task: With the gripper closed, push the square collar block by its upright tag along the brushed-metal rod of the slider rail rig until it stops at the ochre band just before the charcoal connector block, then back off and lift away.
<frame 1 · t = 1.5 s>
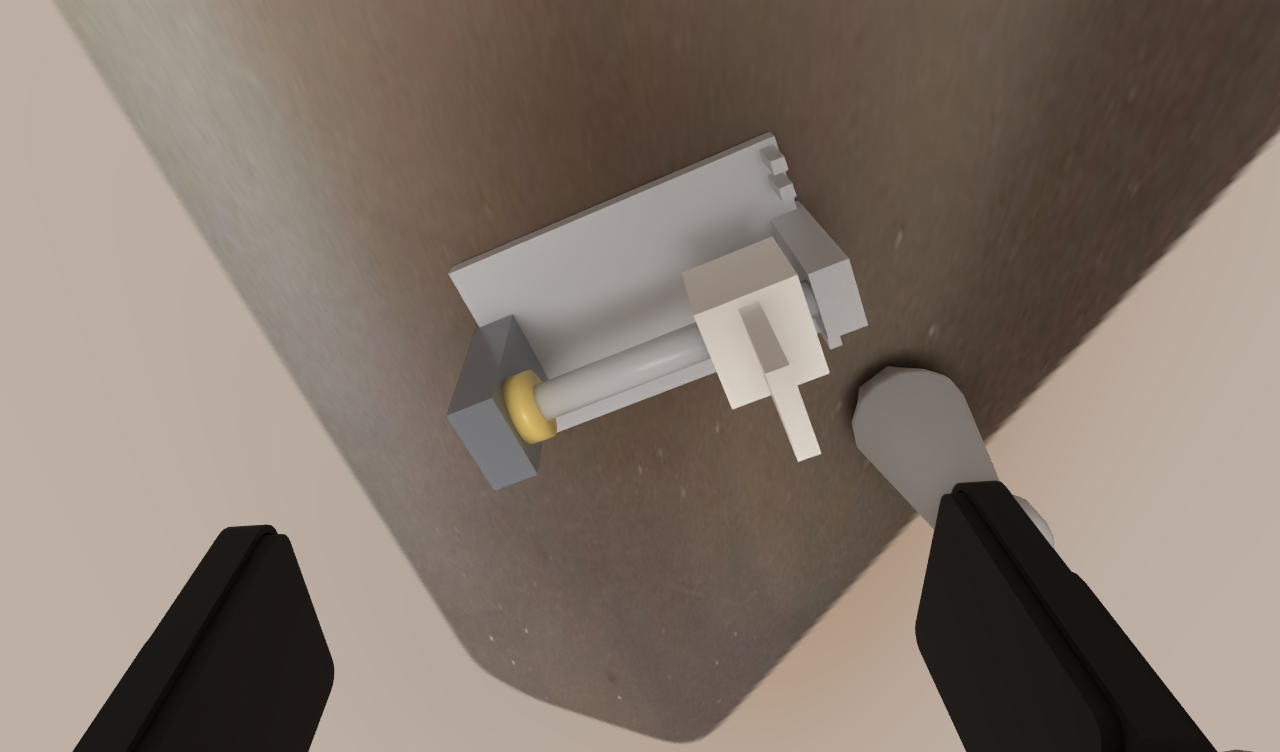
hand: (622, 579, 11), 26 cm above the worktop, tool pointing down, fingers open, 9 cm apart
salt shaker: (891, 395, 40), on the worktop
square collar block: (764, 348, 28), point 9 cm above the worktop, slide at 0.0 cm
slider rail rig: (646, 293, 36), on the worktop
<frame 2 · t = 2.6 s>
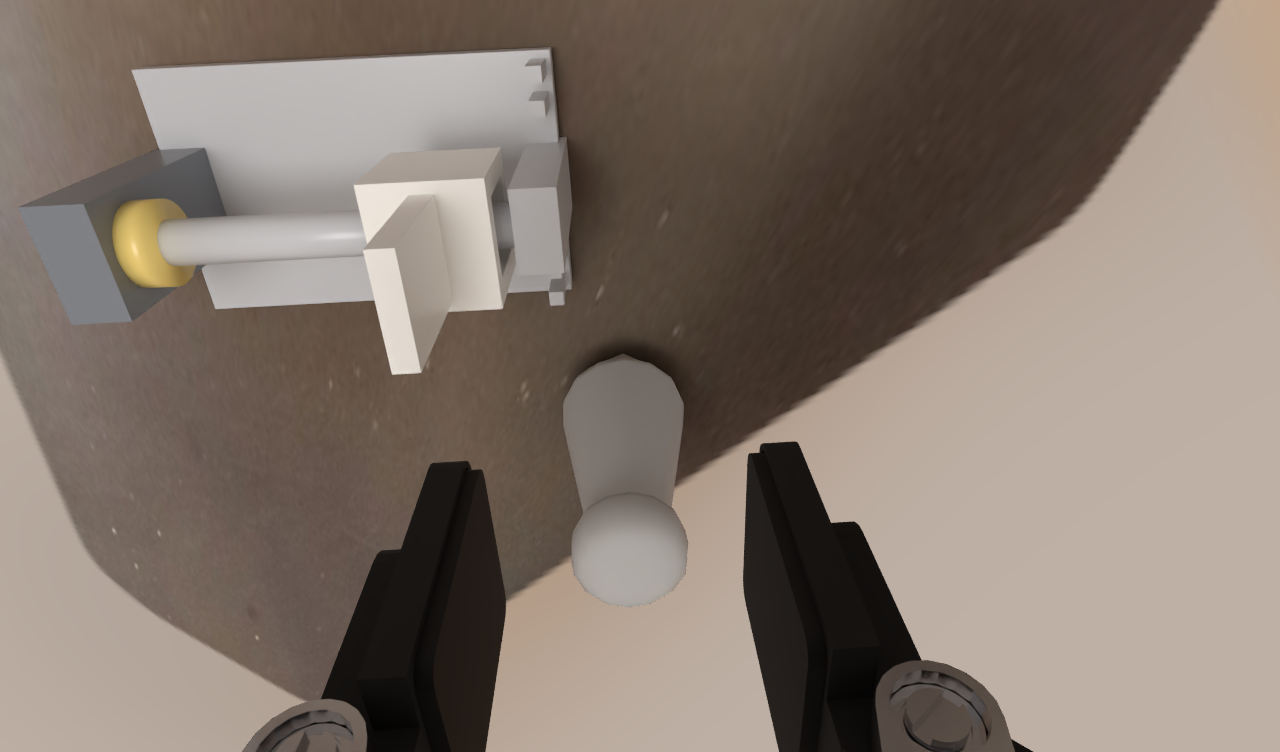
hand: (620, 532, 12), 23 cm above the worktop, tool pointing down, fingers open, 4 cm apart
salt shaker: (622, 387, 38), on the worktop
square collar block: (429, 253, 24), point 9 cm above the worktop, slide at 0.0 cm
slider rail rig: (376, 182, 32), on the worktop
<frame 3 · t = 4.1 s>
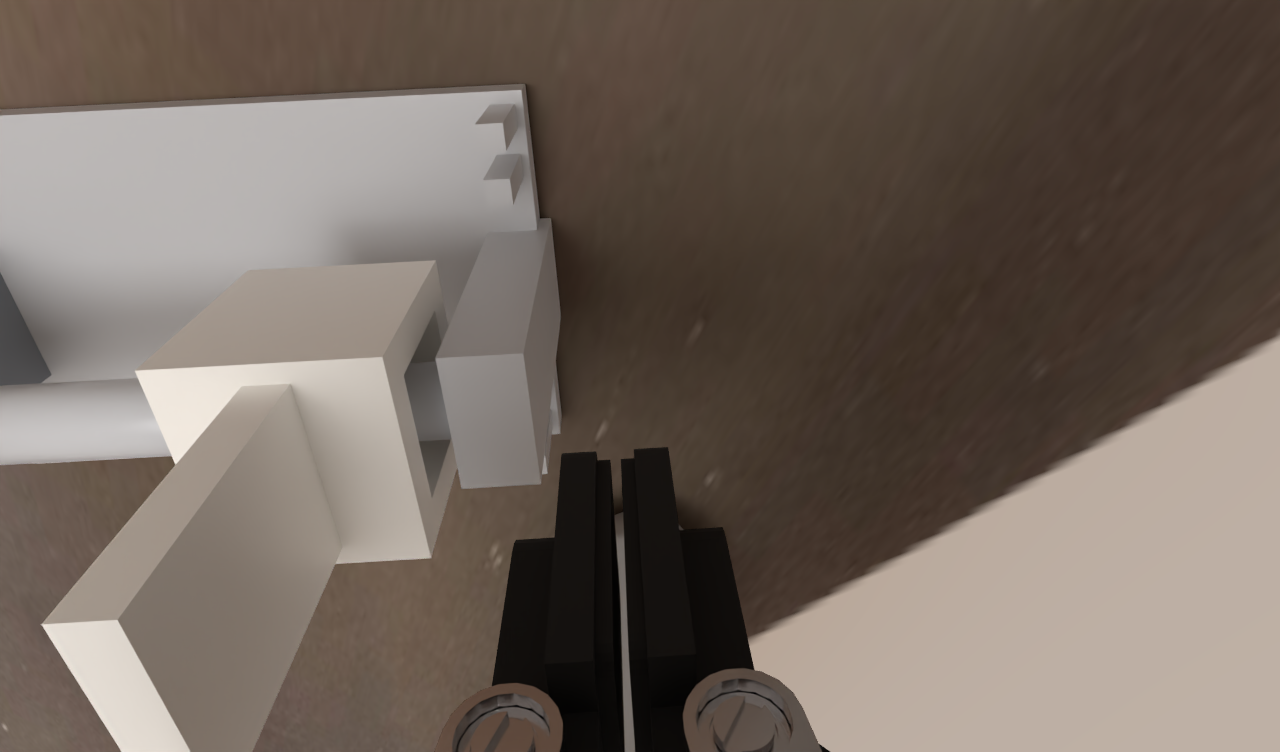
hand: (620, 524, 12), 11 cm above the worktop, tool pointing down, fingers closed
salt shaker: (632, 548, 27), on the worktop
square collar block: (289, 482, 13), point 10 cm above the worktop, slide at 0.0 cm
slider rail rig: (264, 284, 21), on the worktop
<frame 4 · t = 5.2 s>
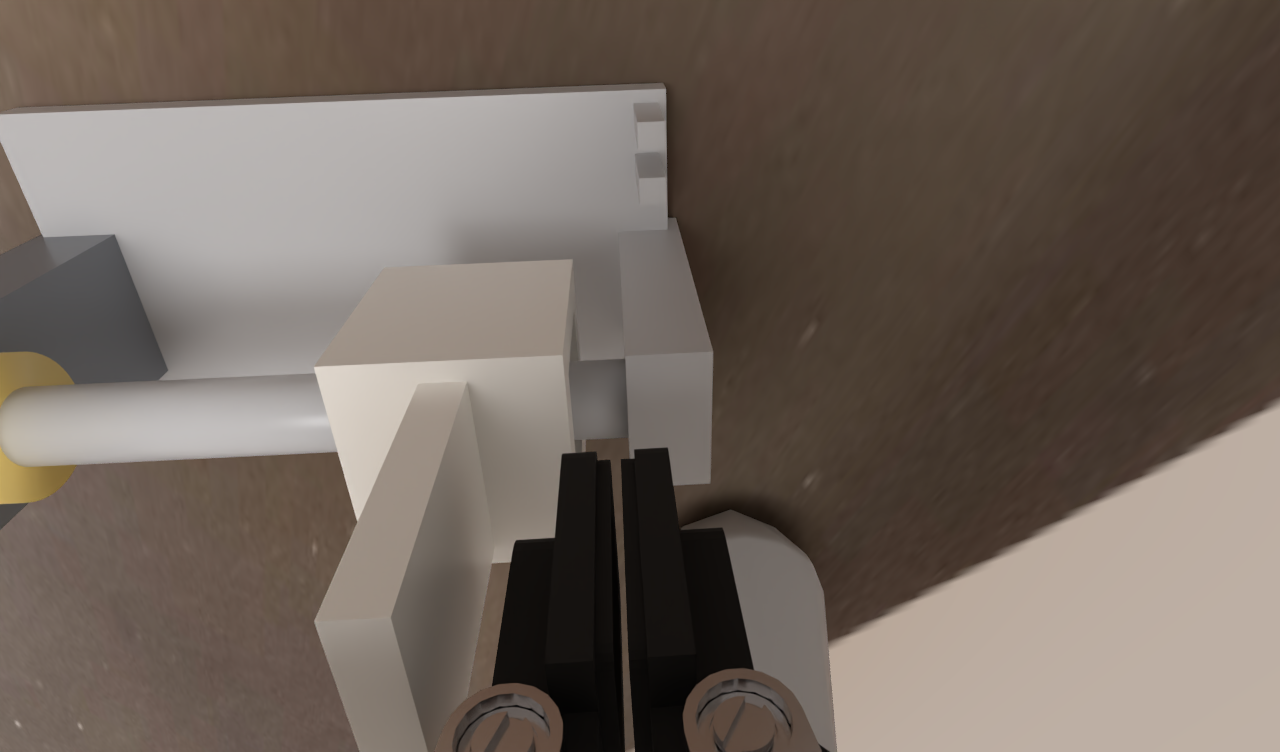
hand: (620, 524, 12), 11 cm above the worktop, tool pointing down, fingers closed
salt shaker: (724, 550, 27), on the worktop
square collar block: (456, 481, 13), point 9 cm above the worktop, slide at 0.5 cm, touching gripper
slider rail rig: (383, 281, 21), on the worktop
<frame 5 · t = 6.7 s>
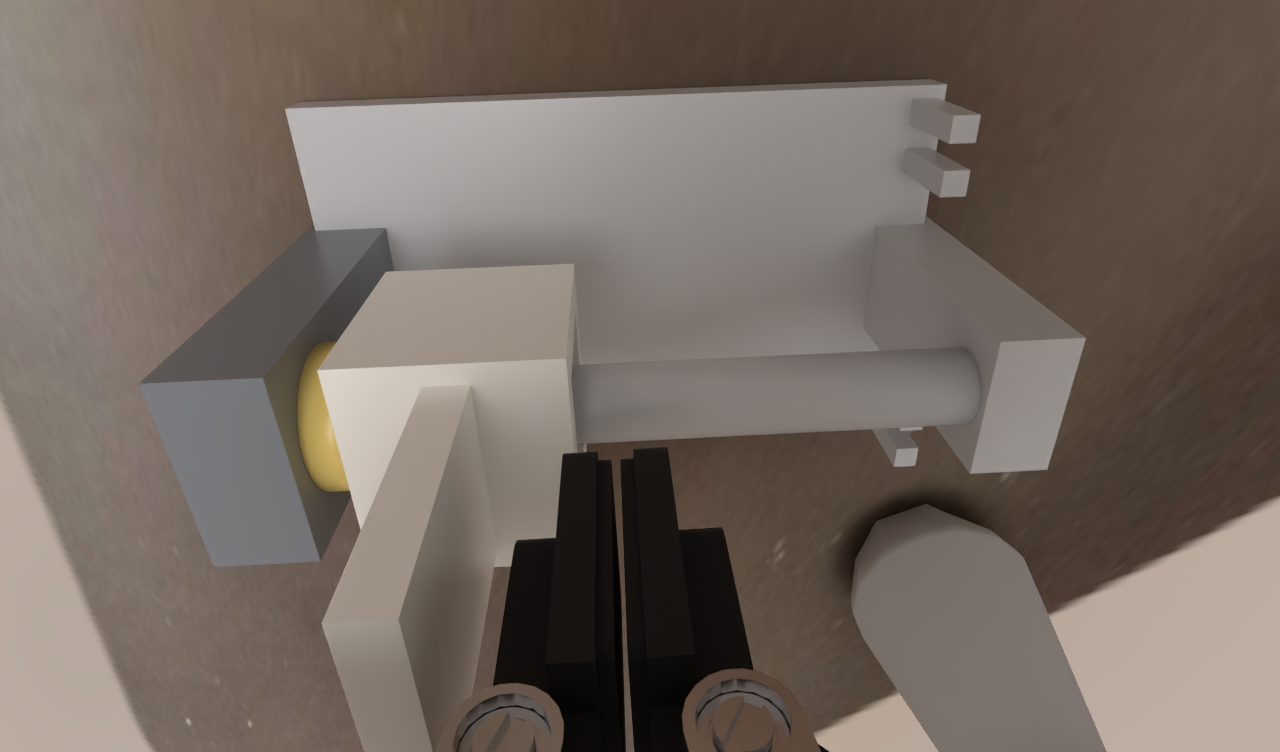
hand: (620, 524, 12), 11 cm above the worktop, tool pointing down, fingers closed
salt shaker: (911, 545, 27), on the worktop
square collar block: (459, 484, 13), point 9 cm above the worktop, slide at 7.4 cm, touching slider rail rig, gripper
slider rail rig: (626, 275, 21), on the worktop
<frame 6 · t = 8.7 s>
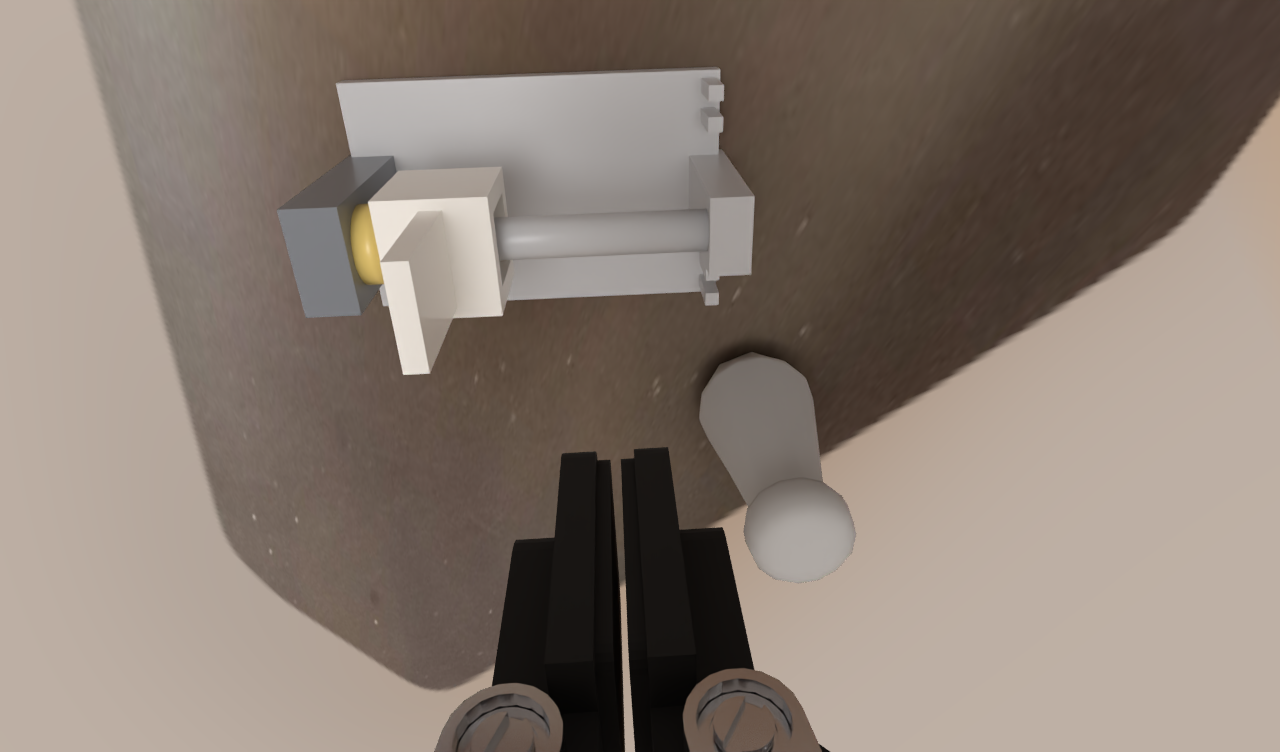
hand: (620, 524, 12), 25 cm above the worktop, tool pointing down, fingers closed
salt shaker: (746, 384, 40), on the worktop
square collar block: (436, 264, 26), point 10 cm above the worktop, slide at 7.3 cm
slider rail rig: (542, 189, 34), on the worktop
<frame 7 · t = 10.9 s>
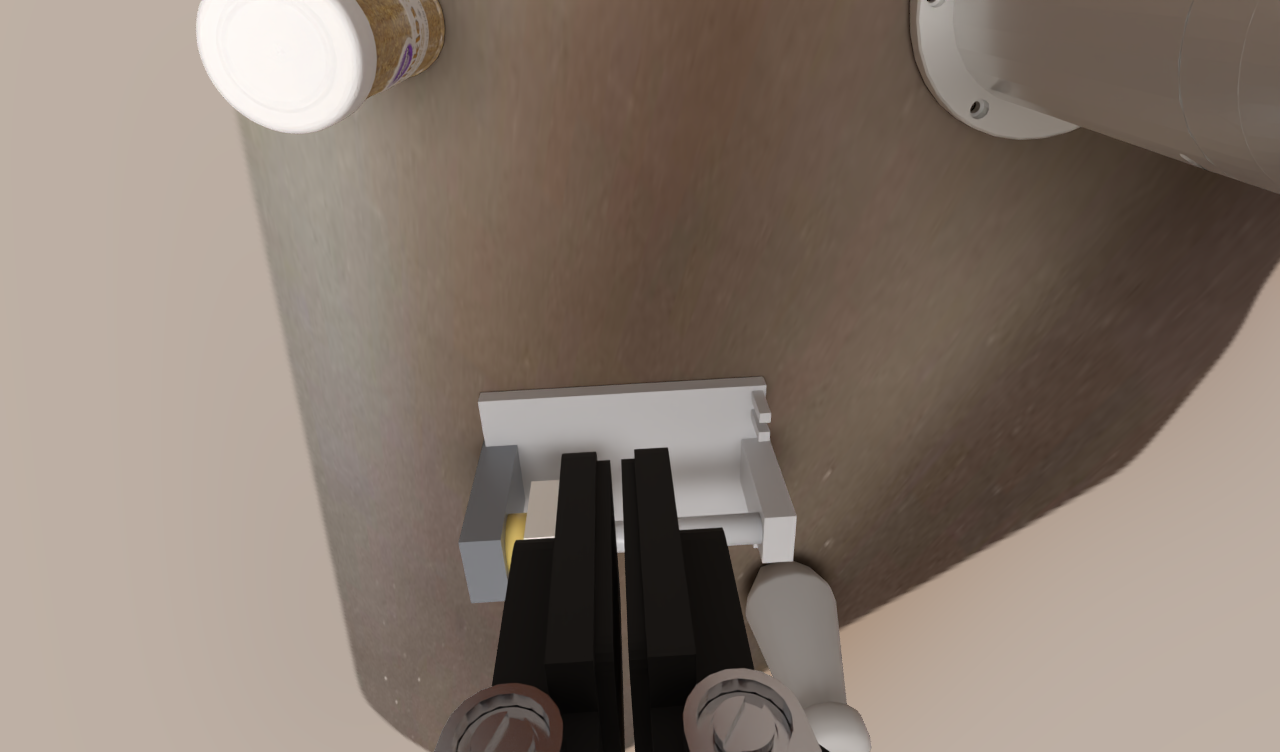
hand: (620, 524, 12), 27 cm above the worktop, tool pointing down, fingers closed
salt shaker: (782, 579, 50), on the worktop
square collar block: (569, 574, 36), point 9 cm above the worktop, slide at 7.3 cm
slider rail rig: (626, 456, 44), on the worktop
sprinkles bottle: (395, 20, 33), on the worktop
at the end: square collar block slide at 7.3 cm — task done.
